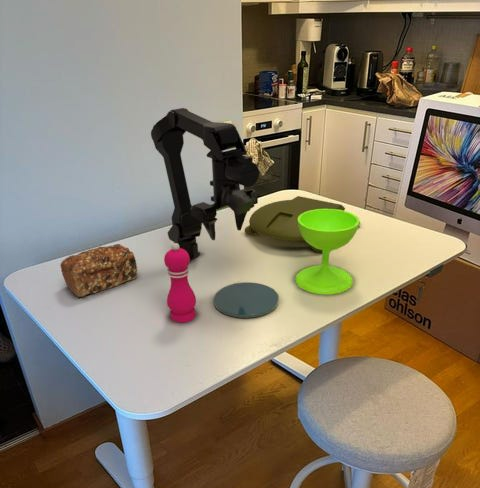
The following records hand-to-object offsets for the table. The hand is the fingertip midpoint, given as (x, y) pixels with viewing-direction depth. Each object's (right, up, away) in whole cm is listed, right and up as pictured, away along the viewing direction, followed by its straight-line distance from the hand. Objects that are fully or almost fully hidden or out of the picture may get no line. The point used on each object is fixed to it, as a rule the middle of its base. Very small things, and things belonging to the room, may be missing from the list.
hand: (226, 234), depth 133 cm
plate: (+5, -18, -3) cm, 19 cm away
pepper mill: (-11, -22, -8) cm, 26 cm away
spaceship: (+23, +7, +34) cm, 42 cm away
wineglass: (+27, -12, +6) cm, 30 cm away
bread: (-36, -12, +8) cm, 39 cm away
